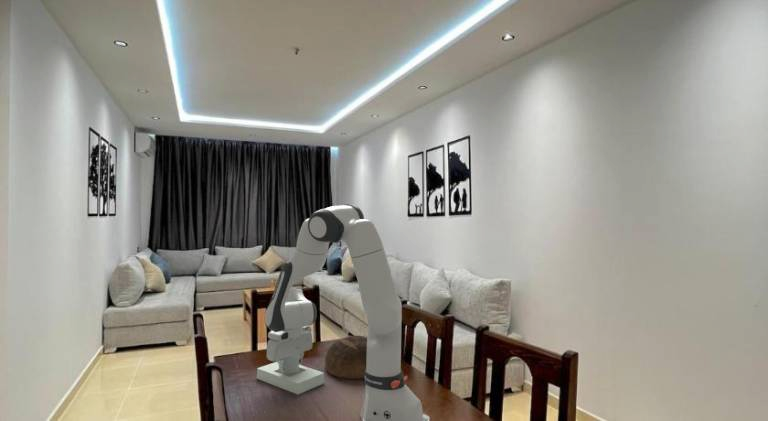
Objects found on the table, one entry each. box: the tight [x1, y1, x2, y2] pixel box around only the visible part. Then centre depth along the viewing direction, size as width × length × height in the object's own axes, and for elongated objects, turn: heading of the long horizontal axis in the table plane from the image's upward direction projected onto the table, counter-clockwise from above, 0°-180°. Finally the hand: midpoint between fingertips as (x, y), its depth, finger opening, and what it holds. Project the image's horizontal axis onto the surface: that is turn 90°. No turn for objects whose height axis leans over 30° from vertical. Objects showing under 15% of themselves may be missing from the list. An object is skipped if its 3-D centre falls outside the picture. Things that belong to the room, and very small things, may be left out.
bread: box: [324, 335, 367, 380], centre depth 182 cm, size 26×27×13 cm
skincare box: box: [282, 347, 300, 377], centre depth 167 cm, size 6×4×12 cm
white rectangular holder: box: [256, 361, 325, 395], centre depth 167 cm, size 23×13×4 cm, turn 53°
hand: (290, 366), depth 167 cm, fingers closed on skincare box, 7 cm apart
